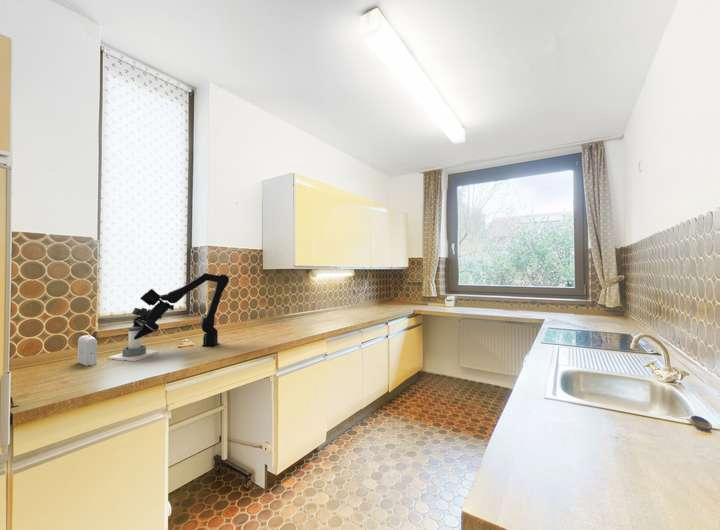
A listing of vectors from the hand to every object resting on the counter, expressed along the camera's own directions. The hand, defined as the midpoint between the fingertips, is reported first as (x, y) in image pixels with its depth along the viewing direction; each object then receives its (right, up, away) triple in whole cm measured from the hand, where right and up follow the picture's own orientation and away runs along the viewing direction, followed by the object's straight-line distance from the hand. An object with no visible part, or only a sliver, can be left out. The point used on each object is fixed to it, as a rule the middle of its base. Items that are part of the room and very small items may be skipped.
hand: (131, 337), depth 151 cm
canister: (+1, -8, +1) cm, 8 cm away
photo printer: (-12, -9, -11) cm, 18 cm away
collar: (+1, -9, +1) cm, 9 cm away
